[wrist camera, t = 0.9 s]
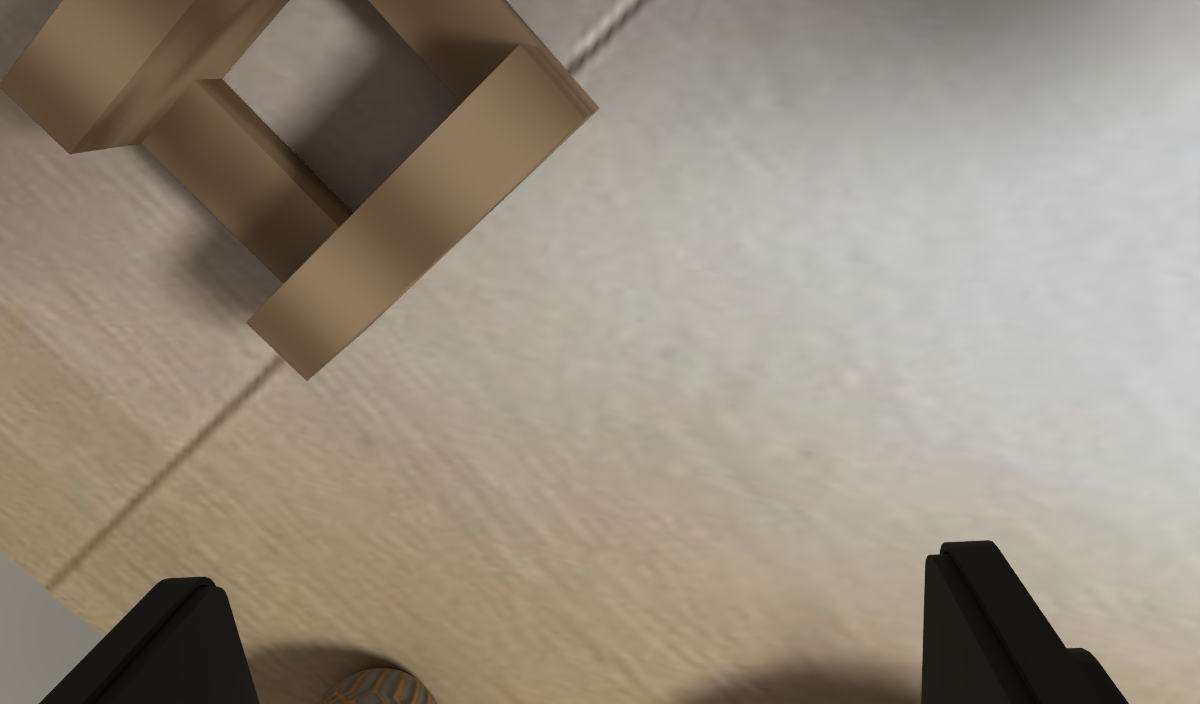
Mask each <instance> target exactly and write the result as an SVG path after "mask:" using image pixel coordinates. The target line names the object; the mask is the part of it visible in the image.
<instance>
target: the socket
mask: <svg viewBox="0 0 1200 704" xmlns="http://www.w3.org/2000/svg"><path fill="white" fill-rule="evenodd" d="M288 1H289V0H62V2H61V3H60V4H59V6H58V7H57V8H56V10H55V11H54V12H53V14H52V15H51V16H50V18H49V19H48V20H47V22H46V23H45V24H44V26H43V27H42V28H41V30H40V31H39V32H38V34H37V35H36V36H35V38H34V39H33V40H32V42H31V43H30V44H29V46H28V47H27V48H26V50H25V51H24V52H23V54H22V55H21V56H20V58H19V59H18V60H17V62H16V63H15V64H14V66H13V67H12V68H11V70H10V71H9V72H8V74H7V75H6V76H5V78H4V79H3V80H2V82H1V83H0V88H1V89H2V90H3V91H4V92H5V93H6V94H7V95H8V96H9V97H10V98H11V99H12V100H13V101H14V102H15V103H17V104H18V105H19V106H20V107H21V108H22V109H23V110H24V111H25V112H26V113H27V114H28V115H29V116H30V117H31V118H32V119H33V120H34V121H35V122H36V123H37V124H38V125H40V126H41V127H42V128H43V129H44V130H45V131H46V132H47V133H48V134H49V135H50V136H51V137H52V138H53V139H54V140H55V141H56V142H57V143H58V144H59V145H60V146H61V147H63V148H64V149H65V150H66V151H67V152H68V153H69V154H74V153H81V152H87V151H94V150H100V149H107V148H114V147H120V146H127V145H133V144H140V143H141V144H142V145H143V146H144V147H145V148H146V149H147V150H148V151H149V152H150V153H151V154H152V155H153V156H154V157H155V158H156V159H157V160H158V161H159V162H160V163H161V164H162V165H163V166H164V167H165V168H166V169H167V170H168V171H169V172H170V173H171V174H172V175H173V176H174V177H175V178H177V179H178V180H179V181H180V182H181V183H182V184H183V185H184V186H185V187H186V188H187V189H188V190H189V191H190V192H191V193H192V194H193V195H194V196H195V197H196V198H197V199H198V200H199V201H200V202H201V203H202V204H203V205H204V206H205V207H206V208H207V209H208V210H209V211H210V212H211V213H212V214H213V215H214V216H215V217H216V218H217V219H218V220H219V221H220V222H221V223H222V224H223V225H224V226H225V227H227V228H228V229H229V230H230V231H231V232H232V233H233V234H234V235H235V236H236V237H237V238H238V239H239V240H240V241H241V242H242V243H243V244H244V245H245V246H246V247H247V248H248V249H249V250H250V251H251V252H252V253H253V254H254V255H255V256H256V257H257V258H258V259H259V260H260V261H261V262H262V263H263V264H264V265H265V266H266V267H267V268H268V269H269V270H270V271H271V272H272V273H273V274H274V275H275V276H276V277H278V278H279V279H280V280H281V281H282V282H283V283H284V284H283V285H282V286H281V287H280V288H279V289H278V290H277V291H276V292H275V293H274V294H273V295H272V296H271V297H270V298H269V299H268V300H267V301H266V302H265V303H264V305H263V306H262V307H261V308H260V309H259V310H258V311H257V312H256V313H255V314H254V315H253V316H252V317H251V318H250V319H249V320H248V321H247V322H246V323H247V324H248V325H249V326H250V327H251V328H252V329H253V330H254V331H255V332H256V333H257V334H258V335H259V336H260V337H261V338H262V339H263V340H264V341H265V342H267V343H268V344H269V345H270V346H271V347H272V348H273V349H274V350H275V351H276V352H277V353H278V354H279V355H280V356H281V357H282V358H283V359H284V360H285V361H286V362H287V363H289V364H290V365H291V366H292V367H293V368H294V369H295V370H296V371H297V372H298V373H299V374H300V375H301V376H302V377H303V378H304V379H305V380H306V381H308V380H309V379H310V378H311V377H312V376H314V375H315V374H316V373H317V372H318V371H319V370H320V369H322V368H323V367H324V366H325V365H326V364H327V363H328V362H330V361H331V360H332V359H333V358H334V357H335V356H336V355H337V354H339V353H340V352H341V351H342V350H343V349H344V348H345V347H347V346H348V345H349V344H350V343H351V342H352V341H353V340H355V339H356V338H357V337H358V336H359V335H360V334H361V333H363V332H364V331H365V330H366V329H367V328H368V327H369V326H370V325H371V324H372V323H373V322H374V321H375V320H376V319H378V318H379V317H380V316H381V315H382V314H383V313H384V312H385V311H386V310H387V309H388V308H389V307H390V306H391V305H392V304H393V303H394V302H395V301H397V300H398V299H399V298H400V297H401V296H402V295H403V294H404V293H405V292H406V291H407V290H408V289H409V288H410V287H411V286H412V285H413V284H414V283H416V282H417V281H418V280H419V279H420V278H421V277H422V276H423V275H424V274H425V273H426V272H427V271H428V270H429V269H430V268H431V267H432V266H433V265H435V264H436V263H437V262H438V261H439V260H440V259H441V258H442V257H443V256H444V255H445V254H446V253H447V252H448V251H449V250H450V249H451V248H452V247H454V246H455V245H456V244H457V243H458V242H459V241H460V240H461V239H462V238H463V237H464V236H465V235H466V234H467V233H468V232H469V231H470V230H471V229H473V228H474V227H475V226H476V225H477V224H478V223H479V222H480V221H481V220H482V219H483V218H484V217H485V216H486V215H487V214H488V213H489V212H490V211H492V210H493V209H494V208H495V207H496V206H497V205H498V204H499V203H500V202H501V201H502V200H503V199H504V198H505V197H506V196H507V195H508V194H509V193H511V192H512V191H513V190H514V189H515V188H516V187H517V186H518V185H519V184H520V183H521V182H522V181H523V180H524V179H525V178H526V177H527V176H528V175H530V174H531V173H532V172H533V171H534V170H535V169H536V168H537V167H538V166H539V165H540V164H541V163H542V162H543V161H544V160H545V159H546V158H547V157H549V156H550V155H551V154H552V153H553V152H554V151H555V150H556V149H557V148H558V147H559V146H560V145H561V144H562V143H563V142H564V141H565V140H567V139H568V138H569V137H570V136H571V135H572V134H573V133H574V132H575V131H576V130H577V129H578V128H579V127H580V126H581V125H582V124H583V123H584V122H586V121H587V120H588V119H589V118H590V117H591V116H592V115H593V114H594V113H595V112H596V111H597V110H598V109H599V107H598V106H597V105H596V104H595V103H594V101H593V100H592V99H591V98H590V97H589V96H588V95H587V93H586V92H585V91H584V90H583V89H582V88H581V86H580V85H579V84H578V83H577V82H576V81H575V80H574V78H573V77H572V76H571V75H570V74H569V73H568V71H567V70H566V69H565V68H564V67H563V66H562V65H561V63H560V62H559V61H558V60H557V59H556V58H555V56H554V55H553V54H552V53H551V52H550V51H549V50H548V48H547V47H546V46H545V45H544V44H543V43H542V41H541V40H540V39H539V38H538V37H537V36H536V35H535V33H534V32H533V31H532V30H531V29H530V28H529V26H528V25H527V24H526V23H525V22H524V21H523V20H522V18H521V17H520V16H519V15H518V14H517V13H516V11H515V10H514V9H513V8H512V7H511V6H510V5H509V3H508V2H507V1H506V0H368V1H369V2H370V3H371V4H372V5H373V6H374V7H375V8H376V10H377V11H378V12H379V13H380V14H381V15H382V16H383V17H384V18H385V19H386V21H387V22H388V23H389V24H390V25H391V26H392V27H393V28H394V29H395V30H396V32H397V33H398V34H399V35H400V36H401V37H402V38H403V39H404V40H405V41H406V43H407V44H408V45H409V46H410V47H411V48H412V49H413V50H414V51H415V53H416V54H417V55H418V56H419V57H420V58H421V59H422V60H423V61H424V62H425V64H426V65H427V66H428V67H429V68H430V69H431V70H432V71H433V72H434V73H435V75H436V76H437V77H438V78H439V79H440V80H441V81H442V82H443V83H444V84H445V86H446V87H447V88H448V89H449V90H450V91H451V92H452V93H453V94H454V95H455V97H456V98H457V99H458V100H459V101H460V102H461V103H462V104H461V105H460V106H459V107H458V108H457V109H456V110H455V111H454V112H453V113H452V114H451V115H450V116H449V117H448V118H447V119H446V120H445V121H444V122H443V123H442V124H441V125H440V126H439V127H438V128H437V129H436V130H435V131H434V132H433V133H432V134H431V135H430V136H429V137H428V138H427V139H426V140H425V141H424V142H423V143H422V144H421V145H420V146H419V147H418V148H417V149H416V150H415V151H414V152H413V153H412V154H411V155H410V156H409V157H408V158H407V159H406V160H405V161H404V162H403V163H402V164H401V165H400V166H399V167H398V168H397V170H396V171H395V172H394V173H393V174H392V175H391V176H390V177H389V178H388V179H387V180H386V181H385V182H384V183H383V184H382V185H381V186H380V187H379V188H378V189H377V190H376V191H375V192H374V193H373V194H372V195H371V196H370V197H369V198H368V199H367V200H366V201H365V202H364V203H363V204H362V205H361V206H360V207H359V208H358V209H357V210H356V211H355V212H354V213H352V212H351V211H350V210H349V209H348V208H347V207H346V206H345V205H344V204H343V203H342V202H341V201H340V200H339V198H338V197H337V196H336V195H335V194H334V193H333V192H332V191H331V190H330V189H329V188H328V187H327V186H326V185H325V184H324V183H323V182H322V181H321V180H320V179H319V178H318V177H317V176H316V175H315V174H314V173H313V172H312V171H311V170H310V169H309V168H308V167H307V166H306V165H305V164H304V163H303V162H302V161H301V160H300V158H299V157H298V156H297V155H296V154H295V153H294V152H293V151H292V150H291V149H290V148H289V147H288V146H287V145H286V144H285V143H284V142H283V141H282V140H281V139H280V138H279V137H278V136H277V135H276V134H275V133H274V132H273V131H272V130H271V129H270V128H269V127H268V126H267V125H266V124H265V123H264V122H263V121H262V120H261V118H260V117H259V116H258V115H257V114H256V113H255V112H254V111H253V110H252V109H251V108H250V107H249V106H248V105H247V104H246V103H245V102H244V101H243V100H242V99H241V98H240V97H239V96H238V95H237V94H236V93H235V92H234V91H233V90H232V89H231V88H230V87H229V86H228V85H227V84H226V83H225V82H224V81H223V80H222V78H223V77H224V76H225V74H226V73H227V72H228V71H229V70H230V69H231V67H232V66H233V65H234V64H235V63H236V62H237V60H238V59H239V58H240V57H241V56H242V55H243V53H244V52H245V51H246V50H247V49H248V48H249V46H250V45H251V44H252V43H253V42H254V41H255V39H256V38H257V37H258V36H259V35H260V34H261V32H262V31H263V30H264V29H265V28H266V27H267V25H268V24H269V23H270V22H271V21H272V20H273V18H274V17H275V16H276V15H277V14H278V13H279V11H280V10H281V9H282V8H283V7H284V6H285V4H286V3H287V2H288Z"/></svg>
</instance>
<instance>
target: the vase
mask: <svg viewBox="0 0 1200 704" xmlns="http://www.w3.org/2000/svg"><path fill="white" fill-rule="evenodd" d="M316 704H437V703H436V701H435V699H434V697H433V696H432V694H431V693H430V691H429V690H428V689H427V688H426V687H425V686H424V685H423V684H422V683H421V682H420V681H419V680H417V679H416V678H414V677H413V676H411V675H409V674H407V673H405V672H402V671H399V670H396V669H390V668H372V669H367V670H363V671H360V672H357V673H354V674H351V675H350V676H348V677H346V678H344V679H343V680H341V681H340V682H338V683H337V684H336V685H334V686H333V687H332V688H331V689H330V690H328V691H327V692H326V693H325V694H324V695H323V697H322V698H321V699H320V700H319V701H318V702H317V703H316Z"/></svg>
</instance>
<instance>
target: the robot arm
mask: <svg viewBox="0 0 1200 704" xmlns="http://www.w3.org/2000/svg"><path fill="white" fill-rule="evenodd" d="M39 704H259V700H258V697H257V694H256V690H255V687H254V684H253V680H252V677H251V674H250V670H249V667H248V664H247V660H246V657H245V654H244V650H243V647H242V644H241V640H240V637H239V634H238V630H237V627H236V624H235V620H234V617H233V614H232V610H231V607H230V604H229V600H228V597H227V595H226V592H225V591H224V590H223V589H222V588H220V587H216V585H215V583H214V582H213V581H212V580H211V579H210V578H207V577H187V578H168V579H164V580H162V581H160V582H159V583H157V584H156V585H155V586H154V587H153V588H152V589H151V590H150V591H149V592H148V593H147V594H146V595H145V596H144V597H143V598H142V599H141V600H140V601H139V603H138V604H137V605H136V606H135V607H134V608H133V609H132V610H131V611H130V612H129V613H128V614H127V615H126V616H125V617H124V618H123V619H122V620H121V621H120V622H119V623H118V624H117V625H116V626H115V627H114V628H113V629H112V630H111V631H110V632H109V633H108V634H107V635H106V636H105V637H104V638H103V639H102V640H101V641H100V642H99V643H98V644H97V645H96V646H95V647H94V648H93V649H92V650H91V652H89V653H88V654H87V655H86V656H85V657H84V659H83V660H82V661H80V663H79V664H78V665H77V666H76V667H75V668H74V669H73V670H72V671H71V672H70V673H69V674H68V675H67V676H66V677H65V678H64V679H63V680H62V681H61V682H60V683H59V684H58V685H57V686H56V687H55V688H54V689H53V690H52V691H51V692H50V693H49V694H48V695H47V696H46V697H45V698H44V699H43V700H42V701H41V702H40V703H39ZM921 704H1129V703H1128V702H1127V700H1126V699H1125V698H1124V696H1123V695H1122V693H1121V692H1120V691H1119V689H1118V688H1117V687H1116V685H1115V684H1114V682H1113V681H1112V680H1111V678H1110V677H1109V675H1108V674H1107V673H1106V671H1105V670H1104V669H1103V667H1102V666H1101V664H1100V663H1099V662H1098V660H1097V659H1096V658H1095V657H1094V656H1093V655H1092V654H1091V653H1090V652H1089V651H1087V650H1085V649H1083V648H1066V647H1065V645H1064V644H1063V642H1062V641H1061V640H1060V638H1059V637H1058V635H1057V634H1056V632H1055V631H1054V629H1053V628H1052V626H1051V625H1050V623H1049V622H1048V620H1047V619H1046V618H1045V616H1044V615H1043V613H1042V612H1041V610H1040V609H1039V607H1038V606H1037V604H1036V603H1035V601H1034V600H1033V598H1032V597H1031V596H1030V594H1029V593H1028V591H1027V590H1026V588H1025V587H1024V585H1023V584H1022V582H1021V581H1020V579H1019V578H1018V576H1017V575H1016V574H1015V572H1014V571H1013V569H1012V568H1011V566H1010V565H1009V563H1008V562H1007V560H1006V559H1005V557H1004V556H1003V554H1002V553H1001V552H1000V550H999V549H998V547H997V546H996V545H995V544H994V542H993V541H989V540H987V541H965V542H944V543H943V544H942V546H941V549H940V555H928V556H927V558H926V564H925V593H924V628H923V664H922V699H921Z"/></svg>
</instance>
